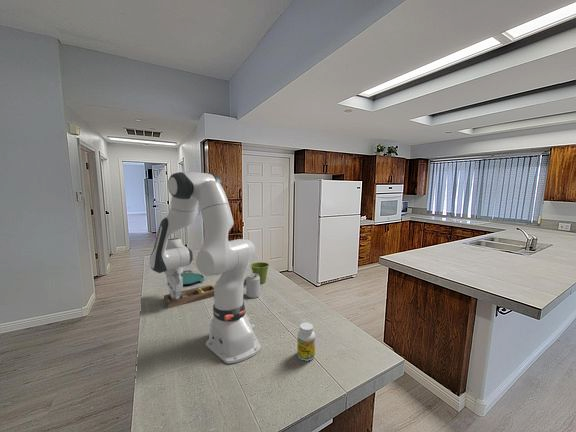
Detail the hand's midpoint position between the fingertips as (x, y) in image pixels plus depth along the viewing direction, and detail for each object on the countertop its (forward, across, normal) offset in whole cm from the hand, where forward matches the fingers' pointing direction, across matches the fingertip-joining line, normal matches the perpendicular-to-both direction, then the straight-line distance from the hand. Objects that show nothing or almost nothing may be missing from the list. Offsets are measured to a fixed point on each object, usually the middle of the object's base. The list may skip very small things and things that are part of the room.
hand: (175, 294), depth 127 cm
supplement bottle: (+4, -71, -28) cm, 77 cm away
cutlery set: (+4, +31, -13) cm, 34 cm away
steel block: (+4, 0, 0) cm, 4 cm away
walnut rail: (+4, 0, -8) cm, 9 cm away
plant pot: (+4, -2, -50) cm, 50 cm away
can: (+4, -17, -36) cm, 40 cm away
